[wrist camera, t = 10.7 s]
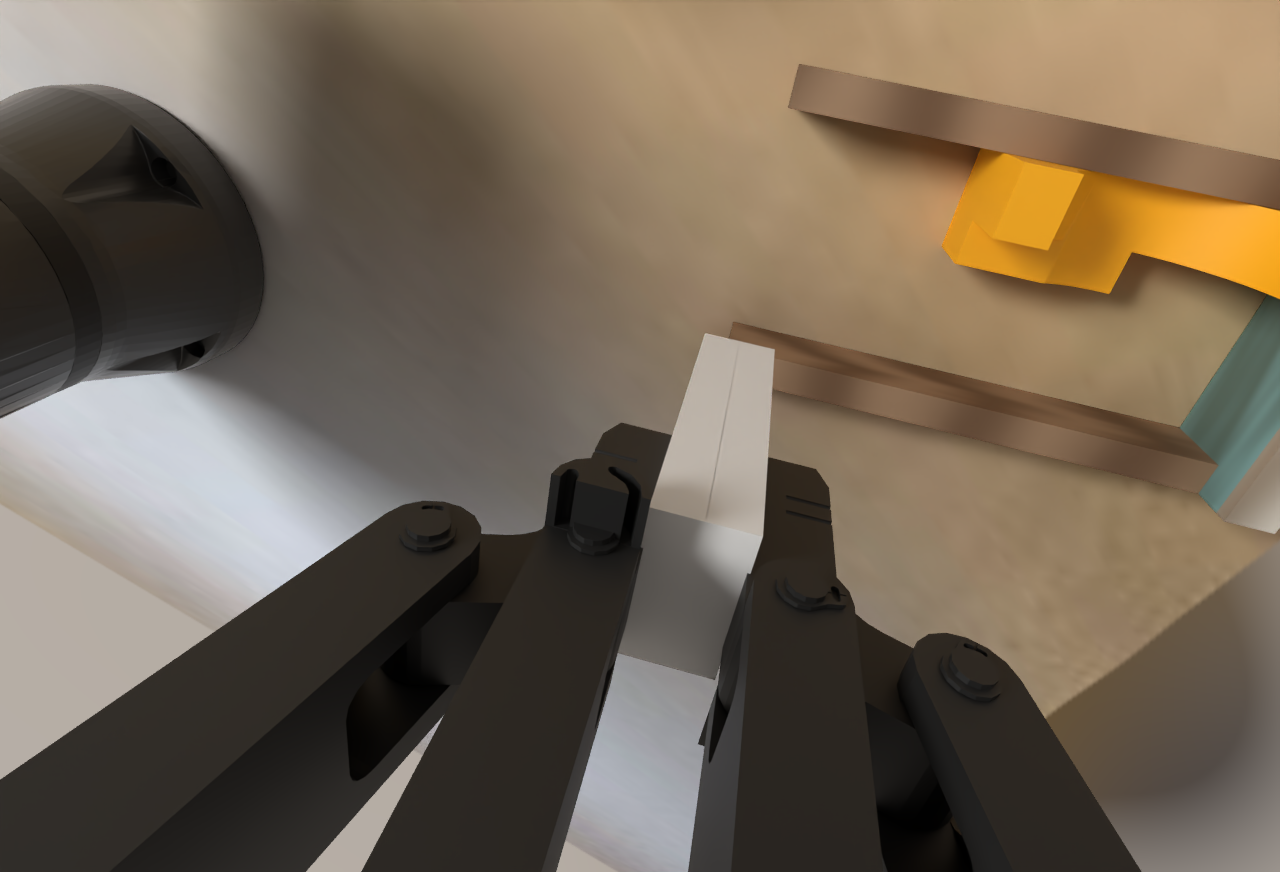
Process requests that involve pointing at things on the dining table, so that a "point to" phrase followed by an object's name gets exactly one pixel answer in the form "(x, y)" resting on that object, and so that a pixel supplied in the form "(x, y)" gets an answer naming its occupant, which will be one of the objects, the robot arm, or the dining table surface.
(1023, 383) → the dining table surface
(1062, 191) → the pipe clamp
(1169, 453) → the channel
